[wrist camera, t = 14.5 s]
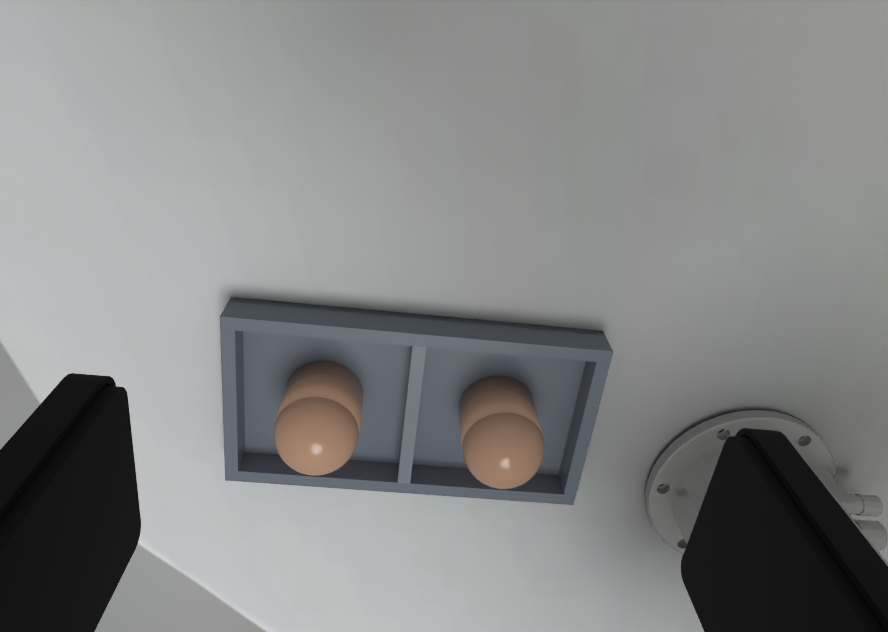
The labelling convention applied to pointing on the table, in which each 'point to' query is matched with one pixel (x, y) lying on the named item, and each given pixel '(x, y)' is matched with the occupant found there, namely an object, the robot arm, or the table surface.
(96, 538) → the robot arm
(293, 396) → the egg
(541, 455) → the seated egg
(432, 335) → the divided grey tray
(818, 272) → the table surface
